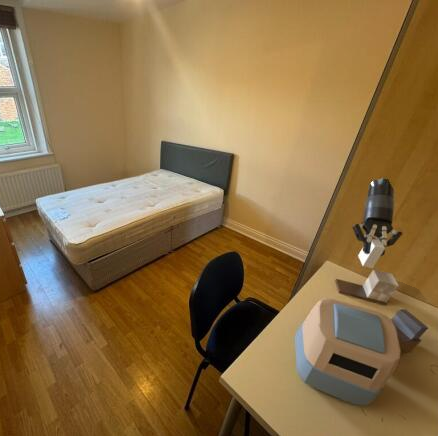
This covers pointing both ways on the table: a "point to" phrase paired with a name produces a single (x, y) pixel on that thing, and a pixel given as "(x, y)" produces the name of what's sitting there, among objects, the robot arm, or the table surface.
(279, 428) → the table surface
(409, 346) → the grey shelf
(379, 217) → the robot arm
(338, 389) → the alarm clock
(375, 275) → the brown base with block
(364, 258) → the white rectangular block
